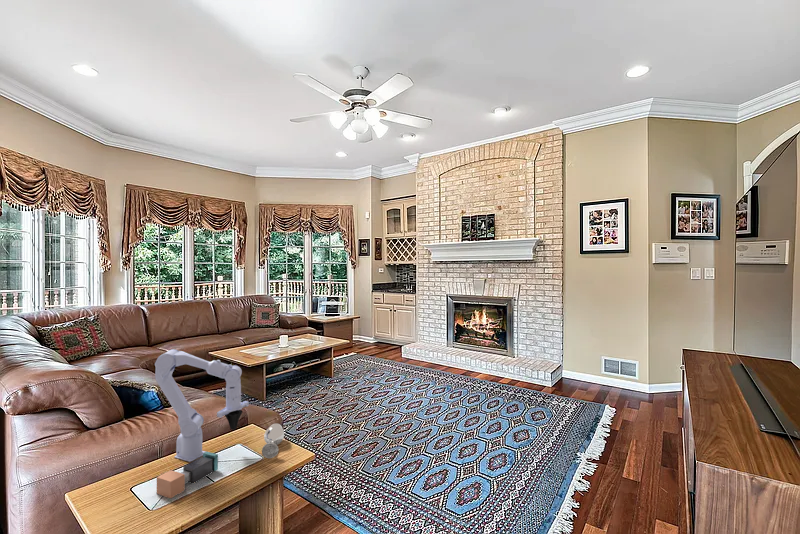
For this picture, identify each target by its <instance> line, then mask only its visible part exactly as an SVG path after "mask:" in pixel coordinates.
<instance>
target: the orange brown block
mask: <svg viewBox="0 0 800 534" xmlns="http://www.w3.org/2000/svg"><path fill="white" fill-rule="evenodd" d="M185 487H186V483H185V474H182V473H181V472H179V471H175V470H172V469H169V471H166V472H164V473H162V474H160V475H158V476H157V477H156V495H159V496H162V497H164V498H168V499H173V498H174V497H175V495H176V496H177V494H178V495H180V494H182V493H183V492H184V490H185ZM182 491H183V492H182ZM185 491H186V490H185Z"/></svg>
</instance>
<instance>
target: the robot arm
mask: <svg viewBox="0 0 800 534" xmlns="http://www.w3.org/2000/svg"><path fill="white" fill-rule="evenodd" d="M183 365H184V366H185V365H188V366H191V367H195V368H197V369H198V368H199V369H203V370H204V371H206V373H207V374H208V375H210V376H215V377H218V378H219V379H224V380H225V383H226V384H225V407H224V408H222V409H220V410H219V411H217V412H216V417H217V418H223V417H225V419H227V422H228V425H229V428H230V430H233V431H235V430H237V427H238V423H239V421H240V418H241V415H242V414H243V408H245V407H249V405H250V402H249V401H248V400H244V401H242V383H241V381H242V380H241V376H242V373H243V370H242V368H241V367H240V366H238V365H237V364H235V365H234V364H233V365H232V364H228V363H225V362H221V360H220V359H217V360H215V359H213V360H212V361H209V360H206V359H203V358H201V357H198V356H195V355H193V354H191V353H187V352H185V351H182V350H179V349H176V348H175V349H173V348H172V349H169V350H168V351H165V352H164V353H162V354H161V355H158V357H157V359H156V360H155V363H154V366H155V375H154V379H155V381H156V383H157V384H158V387H160V390H161V391H162V392H163V394H164V396H165V397H166V399H167V400H168V402H169V404H170V405H171V407H172V409H173V410H174V412H175V413H176V416H177V417H178V418H177V420H178V422H177V423H178V425H179V427H180V428H179V429H180V434H179V435H178V436H177V438H176V446H175V448H176V453H175V454H176V455H174V457H173V458H175V459H178V460H182V461H185V462H188V463H192V462H194V461H195V460H197V459H199V458H201V457H203V453H205V452H206V451H205V450H203V429H202V426H203V424H204V417H203V415H202V414H200V413H198V412H197V409H196V408H195V409H194V408H193V407H192V406H191V405H190V403H189V402H188V400H187V398H186V397H185V395H184V393H183V391H182V390H181V388H180V387H179V385H178V384H177V382H176V380H175V379H174V377H173V372H174V371H175V368H176V367H180V366H183Z"/></svg>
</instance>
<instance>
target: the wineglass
mask: <svg viewBox="0 0 800 534" xmlns="http://www.w3.org/2000/svg"><path fill="white" fill-rule="evenodd" d="M284 438H285V432H284V428H283V426H282V425H281V424H280V423H273V424H271V425H270V426H269V427H268V428H267V429H266V430H265V432H264V434H263V440H264V442H265V443H266V444H264V445H263V446H262V448H261V454H262V456H263V457H264V458H266V459H273V458H275V457H276V456H277V455H278V454H279V446H278V445H279V444H281V443H282V442H283V440H284Z"/></svg>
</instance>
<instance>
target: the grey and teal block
mask: <svg viewBox="0 0 800 534" xmlns="http://www.w3.org/2000/svg"><path fill="white" fill-rule="evenodd" d="M202 457H206V458H210V459H212V472H216V471H218V470H219V454H218V453H214V452H211V451H205V453H203V456H202ZM180 473H182V474H185V484H186V483H189V482H188V481H190V480H192V471H189V470H185V471H182V472H180Z"/></svg>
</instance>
